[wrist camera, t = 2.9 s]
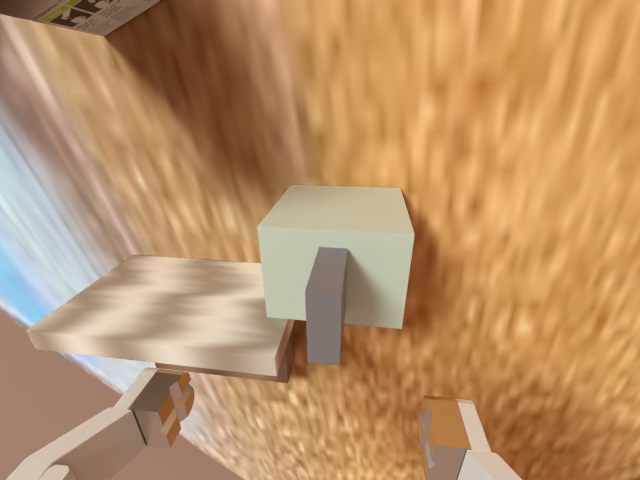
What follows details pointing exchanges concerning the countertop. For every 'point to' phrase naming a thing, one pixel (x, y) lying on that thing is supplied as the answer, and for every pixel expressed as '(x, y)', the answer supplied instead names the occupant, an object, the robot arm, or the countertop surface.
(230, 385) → the countertop surface
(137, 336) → the tan lidded box
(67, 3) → the coffee box
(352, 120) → the countertop surface
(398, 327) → the cube with grey handle
